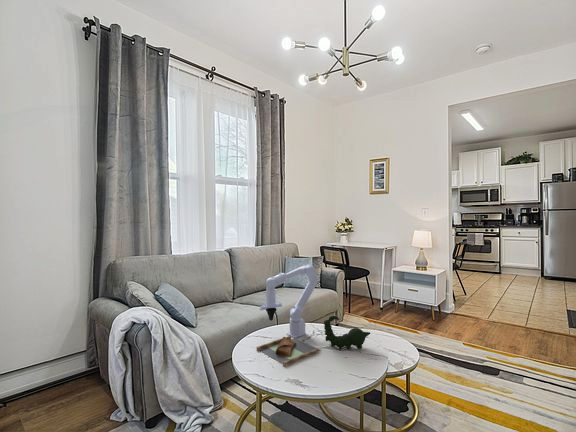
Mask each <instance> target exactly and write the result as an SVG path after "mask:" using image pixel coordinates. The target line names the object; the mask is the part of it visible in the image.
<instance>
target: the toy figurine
mask: <svg viewBox="0 0 576 432" xmlns="http://www.w3.org/2000/svg"><path fill="white" fill-rule="evenodd" d="M335 320H337V321H339V320H340V318H339V317H338V316H335V315H331V316H329V318H328V319H326V320H324V321H323V325H324V326H323V329H324V335H325V338H324V339H325V342H328V341H329V342H330V347H331V348H335V346H336V347H337V348H338V350H342V349H343V348H344V347H345V349H346V350H351V346H355V347H356V348H357V349H358V350H361V349H362V348H363V345H364V343H365V342H366V338H367V337H368V336H369V335H371V332H368V331H363V330H362V329H361V328H358V327H353V328H351V329H349V331H348V333H344V334H342V335H336V334H335V333H334V331H333V329H332V327H333V326H332V325H331V322H333V321H335Z"/></svg>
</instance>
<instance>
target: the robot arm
mask: <svg viewBox="0 0 576 432" xmlns="http://www.w3.org/2000/svg"><path fill="white" fill-rule="evenodd" d="M299 275H302V276H306V277H307V279H308V282H307V284H306V286H305V288H304V290H303V291H302V293H301V295H300V296H299V298H298V300H297V302H296V304H294V306H293V307H291V309H290V310H289V315H290V318H289V332H287V333H286V335H287V336H291V338H292V337H293V339H294V338H296V339H297V338H298V337H301V336H305V335H307V333H306V322H305V320H304V318H302V314H303V311H304V308H305V306H306V304H307V302H308V300H309V299H310V298H311V295H312V294H313V292H314V289H315V288H316V286H317V285H318V272H317V269H316V268H315V267H314V266H313V264H311V263H307V264H305V265H302V266H300V267H297V268H295V269H293V270H291V271H288V272H287V273H285V272H279V274H277V275H275V276H274V275H273V276H271V277H268V278H267V279H266V282H265V285H266V286H265V287H266V289H265V290H266V291H265V295H266V296H265V301H266V303H265V304H264V305H261V306H260V305H259V310H260V311H264V310H265V311H266V313H267V316H268V320H269V321H273V320H274V316H275V313H276V311H277V308H278V307H283V304H282V302H276V298H277V295H276V292H277V291H276V286H279V285H281V284H284V283H287V282H288V279H291V278H294V277H295V276H299Z"/></svg>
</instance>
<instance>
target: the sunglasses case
mask: <svg viewBox="0 0 576 432" xmlns="http://www.w3.org/2000/svg"><path fill="white" fill-rule="evenodd" d="M286 337H287V336H283V337H282V338H283V339H282V338H281V339H282V340H281V342H280V344H279V346H278V348H277V350H276V355H277V356H282V357H290V356H291V352H292V350H293V348H294V346H295V344H296V342H293V341H291V340H289V339H287V338H286Z"/></svg>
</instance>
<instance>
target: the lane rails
mask: <svg viewBox="0 0 576 432" xmlns="http://www.w3.org/2000/svg"><path fill="white" fill-rule="evenodd" d="M285 337H286V338H287V339H289V340H291V339H292V336H290V335H287V336H285ZM282 339H283V337H282V338H279V339H276V340H272V341H270V342H267V343H265V344H261V345H258V346H256V351H257V352H260V351H259V350H262V349H265V348H268V347H271V346H274V345H277V344H279V343H280V342H281V340H282ZM316 348H317V349H315V350H312V351H310V352H307V353H305V354H302V355H299V356H297V357H294V358H292V359H289V360H287V361H284V362H283V364H282V366H283V367H287V366H290V365H293V364H295V363H297V362H300V361H302V360H304V359H307V358H310V357H311V356H314V355H317V354H319V353H320V351H319V348H318V347H316ZM316 353H317V354H316Z"/></svg>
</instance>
